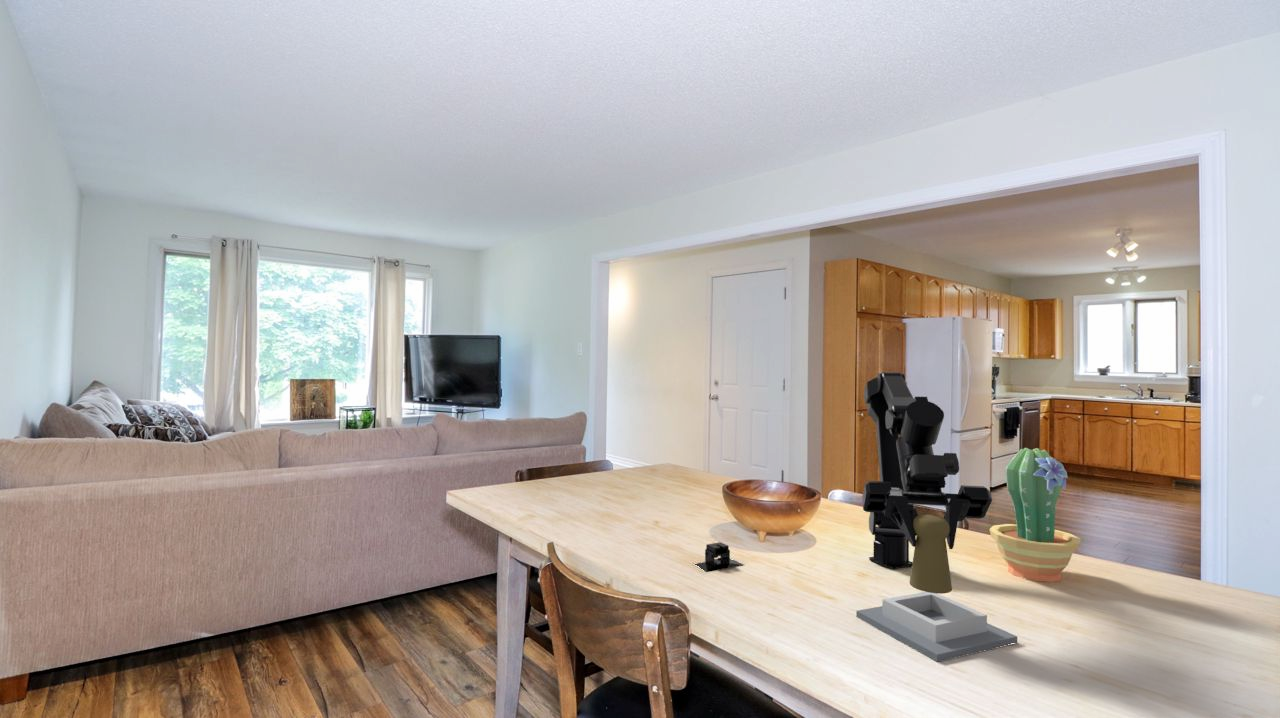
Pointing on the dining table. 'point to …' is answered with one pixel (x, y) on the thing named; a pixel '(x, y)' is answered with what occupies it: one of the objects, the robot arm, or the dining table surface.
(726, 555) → the black bracket mount
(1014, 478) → the potted cactus
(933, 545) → the cork
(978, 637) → the socket plate
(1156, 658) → the dining table surface
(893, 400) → the robot arm
